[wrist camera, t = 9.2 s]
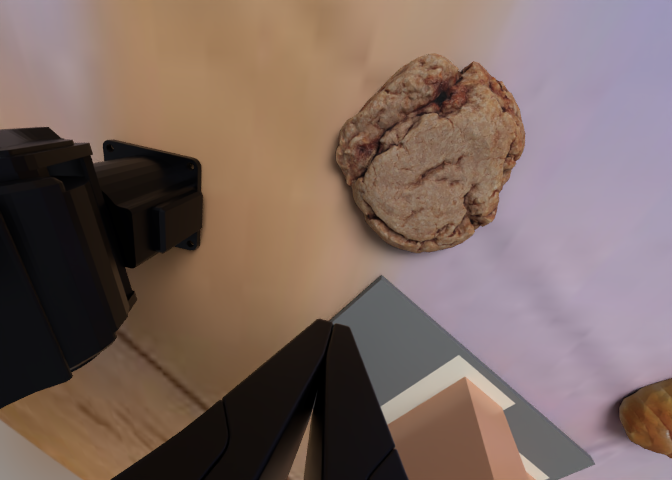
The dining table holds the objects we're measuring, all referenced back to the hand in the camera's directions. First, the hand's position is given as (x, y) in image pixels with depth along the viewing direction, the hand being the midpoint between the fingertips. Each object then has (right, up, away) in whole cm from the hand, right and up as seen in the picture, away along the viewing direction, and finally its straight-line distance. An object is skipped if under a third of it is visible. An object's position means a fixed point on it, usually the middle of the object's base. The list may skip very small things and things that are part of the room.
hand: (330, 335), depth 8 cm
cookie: (+5, +7, +11) cm, 14 cm away
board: (+7, -12, +18) cm, 22 cm away
